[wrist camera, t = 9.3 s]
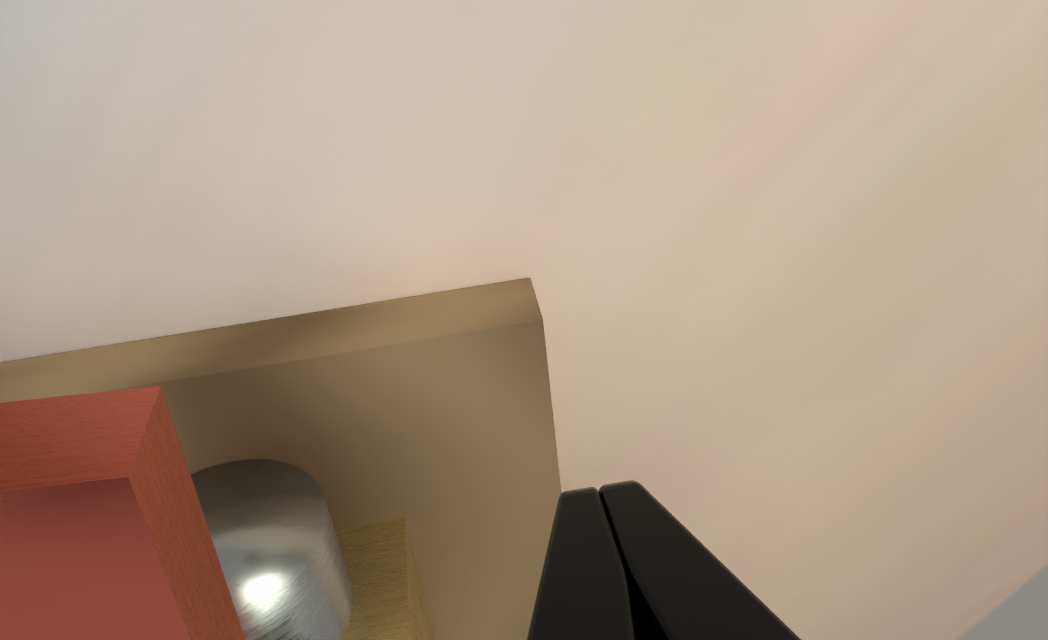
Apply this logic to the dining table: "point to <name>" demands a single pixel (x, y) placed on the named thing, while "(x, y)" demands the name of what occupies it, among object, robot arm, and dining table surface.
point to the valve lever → (104, 525)
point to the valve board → (374, 427)
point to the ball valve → (308, 559)
